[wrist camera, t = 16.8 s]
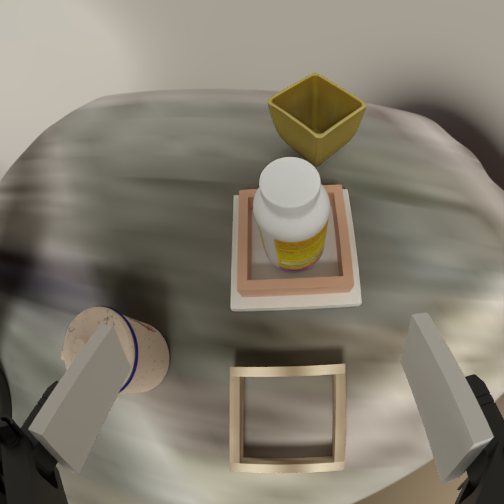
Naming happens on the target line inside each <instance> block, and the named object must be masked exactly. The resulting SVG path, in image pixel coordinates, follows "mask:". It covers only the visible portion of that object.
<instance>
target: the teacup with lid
mask: <svg viewBox="0 0 504 504" xmlns="http://www.w3.org/2000/svg"><path fill="white" fill-rule="evenodd" d="M100 325H113V326H114V328H115V331H116V333H117V336H118V338H119V341H120V343H121V345H122V348H123V350H124V353H125V355H126V357H127V359H128V362H129V364H130V366H131V370H130V372H129V374H128V376H127V378H126V380H125V382H124V384H123V385H122V387H121V389H120V391H119V393H118V394H130V393H142V392H147V391H150V390H152V389H154V388H156V387H157V386H158V385H159V384H160V383H161V382H162V381H163V379H164V378H165V376H166V374H167V371H168V367H169V350H168V346H167V344H166V341H165V339H164V338H163V336H162V335H161V334H160V332H159V331H158V330H156V329H155V328H154V327H152V326H151V325H149V324H146V323H143V322H141V321H138V320H135V319H132V318H130V317H127V316H124V315H122V314H121V313H120V312H118V311H117V310H115V309H113V308H110V307H106V306H96V307H91V308H88V309H86V310H84V311H82V312H81V313H79V314H78V315H77V316H76V317H75V318H74V319H73V321H72V322H71V324H70V325H69V327H68V329H67V332H66V335H65V339H64V345H63V350H62V351H61V359H62V360H64V362H65V365H66V368H67V370H68V368H69V367H70V365H71V364H72V362H73V361H74V360H75V358H76V357H77V356H78V354H79V353H80V351H81V350H82V349H83V347H84V346H85V345H86V343H87V342H88V340H89V339H90V338H91V336H92V335H93V334H94V332H95V331H96V330H97V328H98V327H99V326H100Z"/></svg>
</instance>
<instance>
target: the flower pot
mask: <svg viewBox="0 0 504 504" xmlns="http://www.w3.org/2000/svg"><path fill="white" fill-rule="evenodd" d="M267 103H268V106H269V109H270V113H271V116H272V119H273V122H274V125H275V128H276V130H277V132H278V133H279V135H280V136H281V137H282V139H283V140H284V141H285V142H286V143H287V144H288V145H289V146H290V147H291V148H293V149H294V150H295V151H297V152H298V153H299V154H300V155H302V156H303V157H304V158H305V159H306V160H308V161H309V162H310V163H311V164H312V165H314V166H318V165H320V164H321V163H322V162H323V161H325V160H326V159H327V158H329V157H330V156H331V155H333V154H334V153H335V152H337V151H338V150H339V149H340V148H342V147H343V146H344V145H345V144H347V143H348V142H349V141H350V140H351V138H352V137H353V136H354V135H355V133H356V131H357V129H358V127H359V124H360V122H361V119H362V117H363V114H364V112H365V109H366V106H367V105H366V104H365V103H364V102H363V101H362V100H360V99H359V98H357V97H356V96H354V95H353V94H351V93H350V92H348V91H346V90H345V89H343V88H341V87H340V86H338V85H337V84H335V83H333V82H331V81H330V80H328V79H327V78H325V77H323V76H321V75H319V74H316V73H313V74H311V75H309V76H307V77H305V78H303V79H302V80H300V81H298V82H296V83H295V84H293V85H291V86H290V87H288V88H286V89H284V90H282V91H281V92H279V93H277V94H276V95H274V96H272V97H271V98H270V99H269V100H268V101H267Z"/></svg>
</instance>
